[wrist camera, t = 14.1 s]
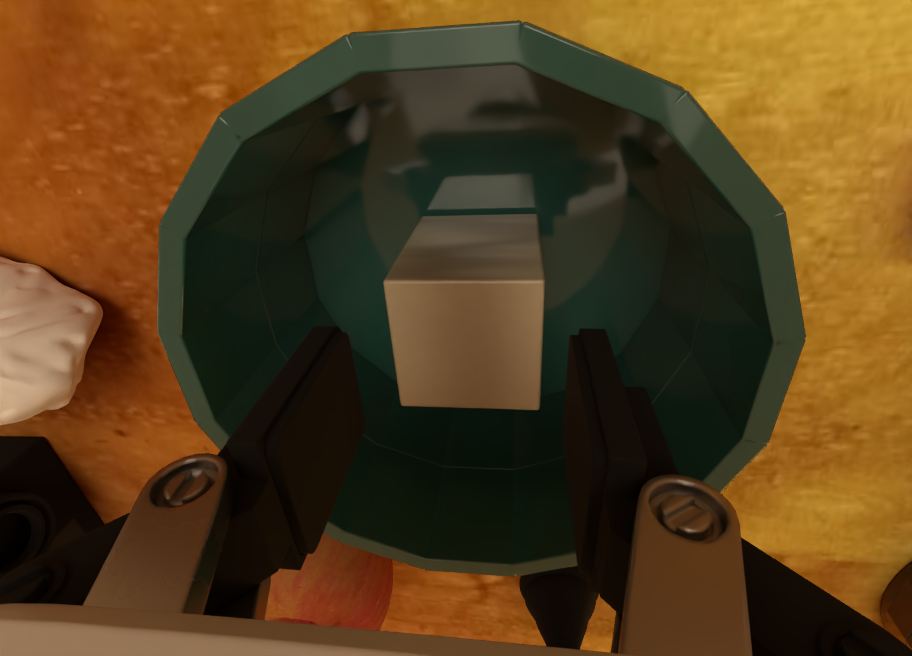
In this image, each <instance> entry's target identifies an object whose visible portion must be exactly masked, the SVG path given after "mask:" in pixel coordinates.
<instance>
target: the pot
mask: <svg viewBox="0 0 912 656" xmlns="http://www.w3.org/2000/svg"><path fill="white" fill-rule="evenodd" d="M507 214H537V216H538V222H539V231H540V240H541V249H542V258H543V267H544V276H545V298H544V322H543V346H542V371H541V395H540V408H539V410H516V409H484V408H452V407H421V406H402V405H401V403H400V397H399V390H398V383H397V376H396V369H395V362H394V355H393V348H392V341H391V334H390V327H389V320H388V313H387V306H386V299H385V292H384V285H383V281H384V279H385V277H386V276H387V274H388V272H389V271H390V269H391V267H392V266H393V264H394V262H395V261H396V259H397V257H398V256H399V254H400V252H401V251H402V249H403V247H404V246H405V244H406V242H407V241H408V239H409V237H410V236H411V234H412V232H413V231H414V229H415V227H416V226H417V224H418V222H419V221H420V219H421V217H423V216H458V215H507ZM160 223H161V224H160V225H159V251H158V321H157V330H158V331H159V332H158V335H159V337H160V340H161V342H162V345H163V347H164V349H165V352H166V354H167V356H168V359H169V361H170V363H171V366H172V368H173V370H174V373H175V375H176V378H177V380H178V382H179V385H180V387H181V389H182V392H183V394H184V396H185V399H186V401H187V404H188V406H189V408H190V411H191V413H192V415H193V418H194V420H195V422H196V423H197V424H198V426H199V427H200V428H201V429H202V430H203V431H204V432H205V434H206V435H207V436H208V437H209V438H210V439H211V440H212V441H213V442H214V444H215V445H216V446H217V447H218V448H219V449H220V450H222V448H223V447H224V446H225V444H226V442H227V441H228V439H229V438H230V437H231V435H232V434H233V433H234V431H235V430H236V429H237V427H238V426H239V425H240V423H241V422H242V421H243V419H244V418H245V417H246V415H247V414H248V413H249V411H250V410H251V409H252V407H253V406H254V405H255V403H256V402H257V401H258V399H259V398H260V397H261V395H262V394H263V393H264V391H265V390H266V389H267V388H268V386H269V385H270V384H271V382H272V381H273V380H274V378H275V377H276V376H277V374H278V373H279V372H280V370H281V369H282V368H283V366H284V365H285V364H286V362H287V361H288V360H289V358H290V357H291V356H292V354H293V353H294V352H295V350H296V349H297V348H298V346H299V345H300V344H301V342H302V341H303V340H304V338H305V337H306V336H307V334H308V333H309V332H310V330H311V329H312V328H313V327H314V326H338V327H339V328H340V329H341V331H342V332H346V333H347V334H348V336H349V340H350V345H351V350H352V355H353V360H354V365H355V371H356V376H357V381H358V386H359V391H360V396H361V402H362V407H363V412H364V417H365V430H364V434H363V437H362V439H361V441H360V444H359V446H358V449H357V451H356V454H355V456H354V459H353V461H352V464H351V466H350V468H349V471H348V473H347V476H346V478H345V481H344V483H343V486H342V488H341V491H340V493H339V495H338V498H337V500H336V503H335V505H334V508H333V510H332V513H331V515H330V518H329V520H328V522H327V525H326V527H325V530H324V532H323V533H324V534H326V535H327V536H329V537H330V538H332V539H334V540H335V541H339V542H340V543H342V544H346V545H349V546H352V547H355V548H358V549H361V550H364V551H367V552H370V553H374V554H377V555H380V556H383V557H386V558H389V559H392V560H395V561H398V562H402V563H405V564H408V565H411V566H414V567H417V568H420V569H425V570H429V571H443V572H456V573H470V574H484V575H497V576H511V577H515V576H522V575H527V574H533V573H539V572H544V571H550V570H556V569H561V568H567V567H573V566H577V558H576V549H575V541H574V532H573V523H572V515H571V506H570V497H569V488H568V480H567V471H566V462H565V454H564V445H563V417H564V403H565V390H566V376H567V362H568V349H569V337H570V335H578V333H579V329H580V328H592V329H606V331H607V335H608V338H609V341H610V344H611V347H612V350H613V353H614V357H615V360H616V363H617V366H618V369H619V372H620V376H621V379H622V382H623V385H624V386H627V387H644V388H645V389H646V391H647V393H648V395H649V398H650V400H651V403H652V406H653V408H654V411H655V414H656V416H657V419H658V421H659V424H660V427H661V429H662V432H663V435H664V437H665V440H666V442H667V445H668V448H669V450H670V453H671V456H672V458H673V461H674V463H675V466H676V469H677V471H678V474H679V475H681V476H688V477H691V478H694V479H697V480H700V481H702V482H704V483H706V484H708V485H709V486H711V487H713V488H715V489H716V490H717V491H718V492H720V493H721V492H722V490H723V489H724V488H725V487H726V486H727V485H728V484H729V483H730V482H731V481H732V480H733V479H734V478H735V477H736V476H737V475H738V474H739V473H740V472H741V471H742V470H743V469H744V468H745V467H746V466H747V465H748V464H749V463H750V462H751V461H752V460H753V459H754V458H755V457H756V456H757V455H758V454H759V453H760V452H761V451H762V450H763V449H764V448H765V447H766V445H767V443H769V440H770V437H771V434H772V431H773V429H774V426H775V423H776V420H777V418H778V415H779V412H780V409H781V407H782V404H783V401H784V398H785V395H786V393H787V390H788V387H789V384H790V382H791V379H792V376H793V373H794V371H795V368H796V365H797V362H798V359H799V357H800V354H801V351H802V348H803V346H804V343H805V337H806V335H805V328H804V322H803V316H802V310H801V304H800V298H799V291H798V285H797V279H796V273H795V267H794V261H793V254H792V248H791V242H790V236H789V230H788V224H787V217H786V212H785V211H784V209H783V206H782V205H781V204H780V203H779V201H778V200H777V199H776V198H775V196H774V195H773V194H772V193H771V192H770V190H769V189H768V188H767V187H766V185H765V184H764V183H763V182H762V181H761V179H760V178H759V177H758V176H757V174H756V173H755V172H754V171H753V170H752V168H751V167H750V166H749V165H748V163H747V162H746V161H745V160H744V159H743V157H742V156H741V155H740V154H739V152H738V151H737V150H736V149H735V147H734V146H733V145H732V144H731V143H730V141H729V140H728V139H727V138H726V136H725V135H724V134H723V133H722V132H721V130H720V129H719V128H718V127H717V125H716V124H715V123H714V122H713V121H712V119H711V118H710V117H709V116H708V114H707V113H706V112H705V111H704V110H703V108H702V107H701V106H700V105H699V103H698V102H697V101H696V100H695V99H694V97H693V96H692V95H691V94H690V92H689V91H687V90H684V88H683V87H681V86H679V85H677V84H674V83H672V82H669V81H667V80H665V79H662V78H660V77H657V76H655V75H653V74H650V73H648V72H646V71H643V70H641V69H638V68H636V67H634V66H631V65H629V64H626V63H624V62H622V61H619V60H617V59H614V58H612V57H610V56H607V55H605V54H602V53H600V52H598V51H595V50H593V49H590V48H588V47H586V46H583V45H581V44H578V43H576V42H574V41H571V40H569V39H567V38H564V37H562V36H559V35H557V34H555V33H552V32H550V31H547V30H545V29H543V28H540V27H538V26H535V25H533V24H531V23H528V22H523V23H522V21H519V20H518V21H504V22H490V23H476V24H462V25H449V26H435V27H421V28H407V29H393V30H379V31H365V32H352V33H350V34H349V35H348V34H347V35H344V36H342V37H341V38H339V39H337V40H336V41H334V42H333V43H331V44H329V45H328V46H326V47H324V48H323V49H321V50H320V51H318V52H316V53H315V54H313V55H312V56H310V57H308V58H307V59H305V60H304V61H302V62H300V63H299V64H297V65H296V66H294V67H292V68H291V69H289V70H287V71H286V72H284V73H283V74H281V75H279V76H278V77H276V78H275V79H273V80H271V81H270V82H268V83H267V84H265V85H263V86H262V87H260V88H259V89H257V90H255V91H254V92H252V93H251V94H249V95H247V96H246V97H244V98H242V99H241V100H239V101H238V102H236V103H234V104H233V105H231V106H230V107H228V108H226V109H225V110H223V111H222V112H221V115H219V116H218V117H217V119H216V121H215V123H214V124H213V126H212V128H211V130H210V132H209V134H208V135H207V137H206V139H205V141H204V143H203V144H202V146H201V148H200V150H199V152H198V153H197V155H196V157H195V159H194V161H193V163H192V164H191V166H190V168H189V170H188V172H187V173H186V175H185V177H184V179H183V181H182V182H181V184H180V186H179V188H178V190H177V192H176V193H175V195H174V197H173V199H172V201H171V202H170V204H169V206H168V208H167V210H166V211H165V213H164V215H163V217H162V219H161V221H160Z"/></svg>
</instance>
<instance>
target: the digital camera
mask: <svg viewBox="0 0 912 656" xmlns="http://www.w3.org/2000/svg"><path fill="white" fill-rule="evenodd" d="M101 526H103V524H102V523H101V521H100V520H99V518H98V517H97V515H96V514H95V512H94V511H93V509H92V508H91V506H90V505H89V503H88V502H87V500H86V499H85V497H84V496H83V495H82V493H81V492H80V490H79V489H78V487H77V486H76V484H75V483H74V481H73V480H72V478H71V477H70V476H69V474H68V473H67V471H66V470H65V468H64V467H63V466H62V464H61V463H60V461H59V460H58V458H57V457H56V456H55V454H54V453H53V451H52V450H51V448H50V447H49V446H48V444H47V443H46V441H45V440H44V439H43V438H41V437H0V579H1V578H2V577H3V576H5V575H6V574H7V573H9V572H10V571H12V570H14V569H16V568H17V567H19V566H21V565H23V564H24V563H26V562H28V561H30V560H32V559H34V558H36V557H39V556H41V555H43V554H45V553H47V552H49V551H51V550H53V549H55V548H57V547H59V546H61V545H63V544H66V543H68V542H70V541H72V540H74V539H76V538H78V537H80V536H82V535H84V534H86V533H88V532H91V531H93V530H95V529H97V528H99V527H101Z"/></svg>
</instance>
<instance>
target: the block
mask: <svg viewBox="0 0 912 656" xmlns="http://www.w3.org/2000/svg"><path fill="white" fill-rule="evenodd" d="M383 285H384V292H385V299H386V306H387V313H388V320H389V327H390V334H391V341H392V348H393V355H394V362H395V369H396V376H397V383H398V390H399V397H400V403H401V405H402V406H421V407H452V408H484V409H516V410H539V408H540V395H541V371H542V346H543V322H544V298H545V276H544V267H543V258H542V249H541V240H540V231H539V222H538V216H537V214H507V215H458V216H423V217H421V219H420V221H419V222H418V224H417V226H416V227H415V229H414V231H413V232H412V234H411V236H410V237H409V239H408V241H407V242H406V244H405V246H404V247H403V249H402V251H401V252H400V254H399V256H398V257H397V259H396V261H395V262H394V264H393V266H392V267H391V269H390V271H389V272H388V274H387V276H386V277H385V279H384V281H383Z"/></svg>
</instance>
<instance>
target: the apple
mask: <svg viewBox="0 0 912 656" xmlns="http://www.w3.org/2000/svg"><path fill="white" fill-rule="evenodd" d="M392 586H393V567H392V559H389V558H386V557H383V556H380V555H377V554H374V553H370V552H367V551H364V550H361V549H358V548H355V547H352V546H349V545H346V544H342V543H340V542H339V541H335V540H334V539H332V538H330V537H329V536H327V535H326V534H324V533H323V535H322V537H321V540H320V542H319V545H318V547H317V549H316V551H315V552H314V553H313V554H307V556H306V559H305V561H304V564H303V566H302V568H301V570H289V569H279V570H278V572H276V573H275V574H273V575H272V576H271V585H270V591H269V597H268V603H267V609H266V614H265V620H267V621H279V622H290V623H301V624H312V625H323V626H334V627H345V628H356V629H367V630H378V631H379V630H380V628H381V626H382V624H383V621H384V619H385V616H386V614H387V611H388V608H389V604H390V599H391V594H392Z"/></svg>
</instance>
